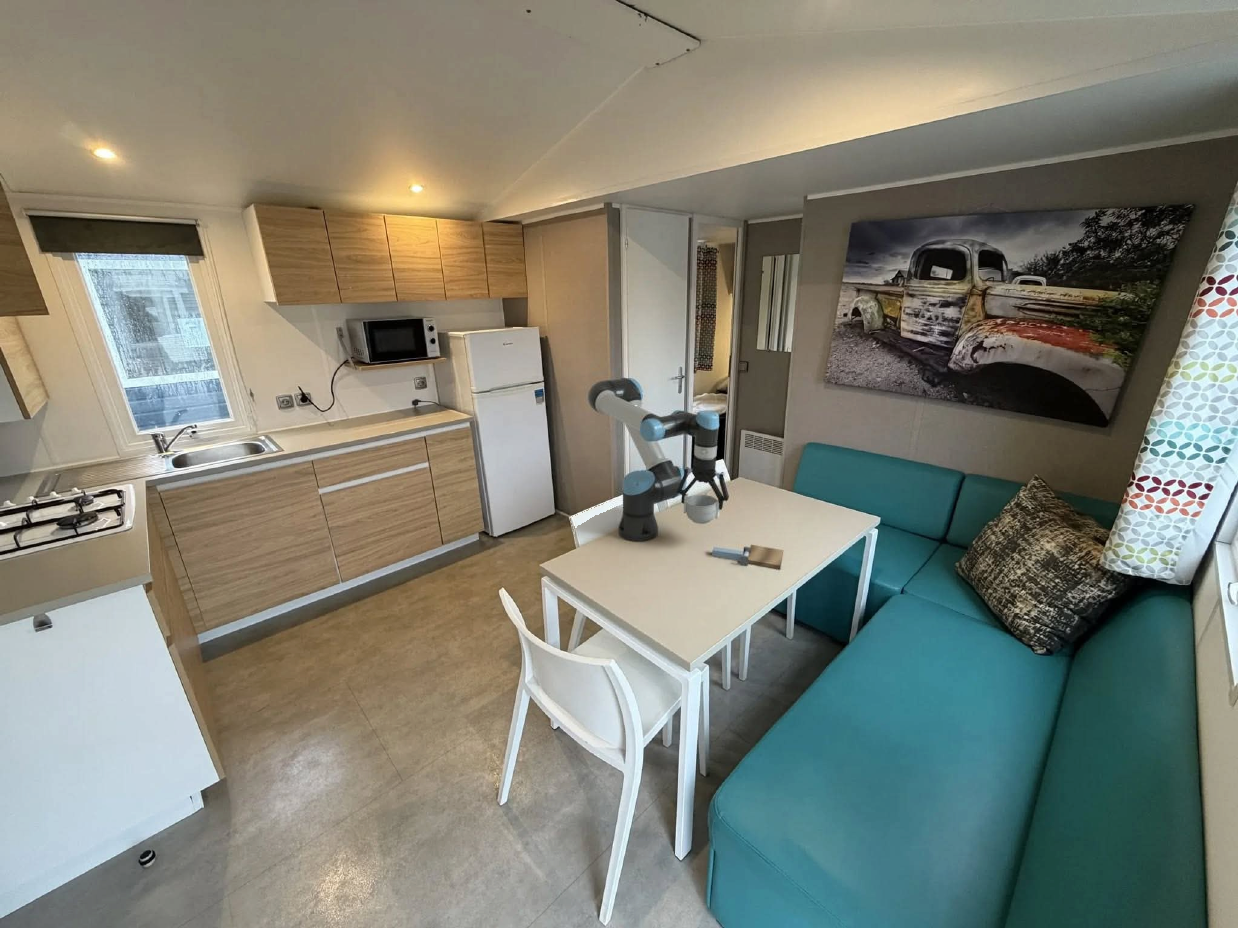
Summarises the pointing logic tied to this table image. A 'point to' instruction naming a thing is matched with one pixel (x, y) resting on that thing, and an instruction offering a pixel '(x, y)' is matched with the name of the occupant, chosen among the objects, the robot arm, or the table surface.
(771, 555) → the board
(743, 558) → the hinge cheek
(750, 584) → the table surface
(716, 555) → the leg
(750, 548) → the hinge cheek
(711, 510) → the teacup
